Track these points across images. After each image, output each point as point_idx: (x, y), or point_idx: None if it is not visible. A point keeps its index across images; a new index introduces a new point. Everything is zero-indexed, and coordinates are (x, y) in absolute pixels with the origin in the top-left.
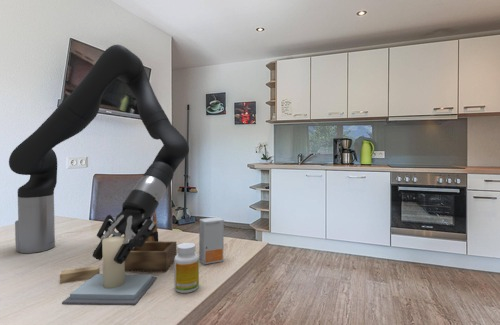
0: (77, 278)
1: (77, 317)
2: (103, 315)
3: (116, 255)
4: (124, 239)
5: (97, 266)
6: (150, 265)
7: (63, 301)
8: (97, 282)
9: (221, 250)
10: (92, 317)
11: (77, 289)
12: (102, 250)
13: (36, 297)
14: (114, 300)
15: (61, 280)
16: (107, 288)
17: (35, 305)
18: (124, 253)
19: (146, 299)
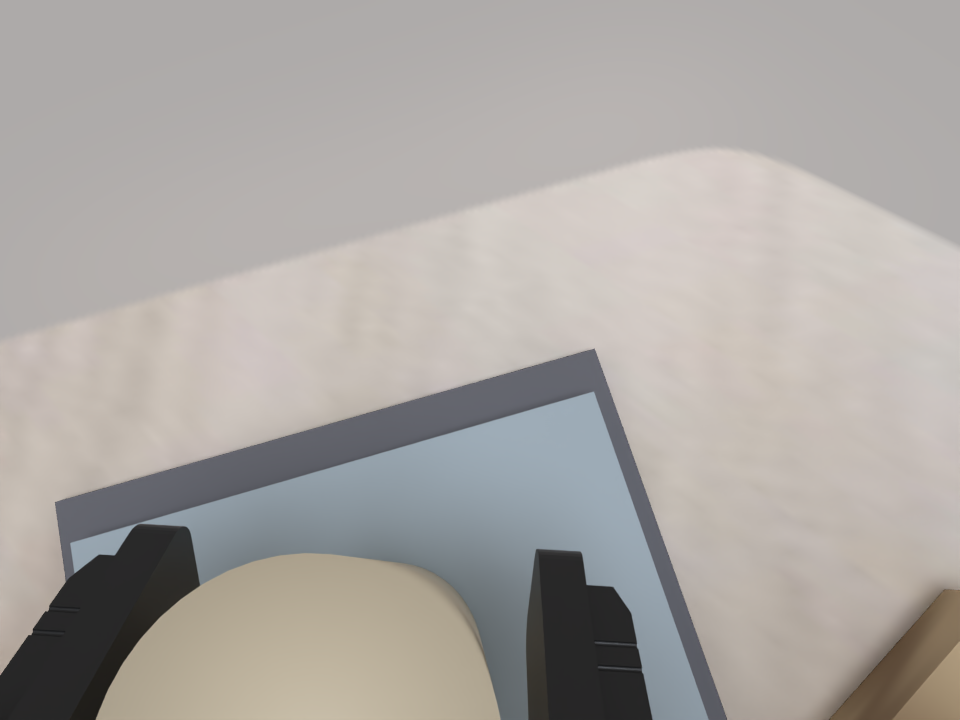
0: (870, 689)
1: (349, 273)
2: (203, 336)
3: (143, 556)
4: None
5: None
6: None
7: (594, 360)
8: None
9: None
10: (256, 299)
11: (604, 465)
12: (437, 592)
13: (859, 366)
14: (239, 483)
15: (952, 598)
16: (374, 559)
17: (745, 291)
18: (43, 631)
19: (22, 604)
